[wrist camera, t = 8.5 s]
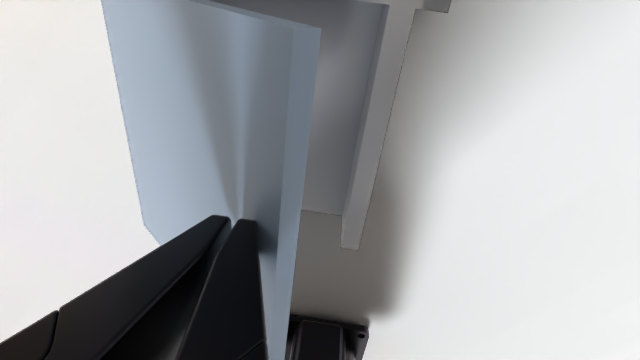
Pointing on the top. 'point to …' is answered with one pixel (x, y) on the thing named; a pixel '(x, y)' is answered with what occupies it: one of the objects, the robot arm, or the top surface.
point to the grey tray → (349, 96)
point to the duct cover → (219, 125)
